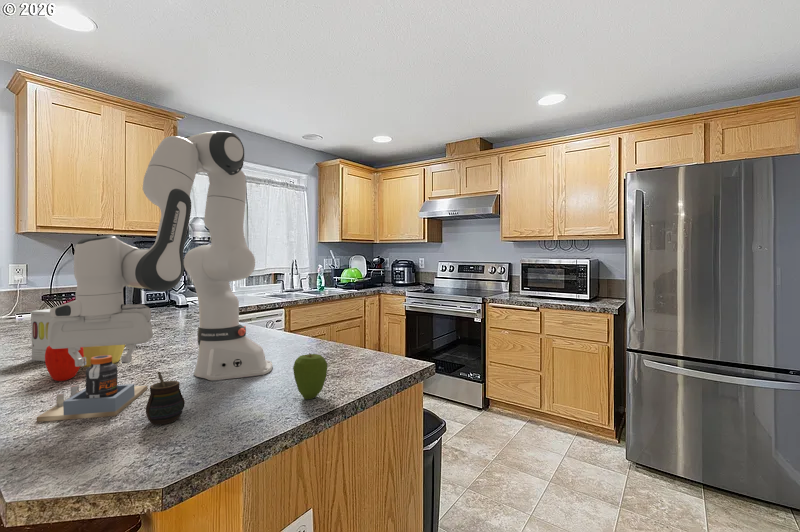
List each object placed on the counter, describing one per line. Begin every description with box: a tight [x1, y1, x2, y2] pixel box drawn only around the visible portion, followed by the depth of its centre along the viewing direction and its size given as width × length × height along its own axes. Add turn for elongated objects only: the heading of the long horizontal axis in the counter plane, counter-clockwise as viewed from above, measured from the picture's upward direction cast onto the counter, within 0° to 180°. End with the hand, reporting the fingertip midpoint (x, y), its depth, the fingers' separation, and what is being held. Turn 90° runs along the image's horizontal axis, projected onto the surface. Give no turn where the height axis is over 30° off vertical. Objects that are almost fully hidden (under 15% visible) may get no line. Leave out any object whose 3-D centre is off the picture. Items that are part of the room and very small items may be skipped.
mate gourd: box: [145, 371, 186, 426], centre depth 87 cm, size 7×8×10 cm
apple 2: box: [292, 352, 329, 400], centre depth 101 cm, size 9×8×12 cm
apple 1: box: [44, 346, 84, 382], centre depth 115 cm, size 9×9×11 cm
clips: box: [55, 384, 81, 407], centre depth 96 cm, size 5×8×2 cm, turn 13°
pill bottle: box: [85, 355, 118, 399], centre depth 93 cm, size 6×6×11 cm
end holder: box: [63, 383, 135, 415], centre depth 93 cm, size 10×10×3 cm
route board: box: [36, 385, 148, 423], centre depth 96 cm, size 15×18×1 cm
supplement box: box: [30, 308, 55, 362], centre depth 139 cm, size 10×9×17 cm
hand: (104, 364), depth 94 cm, fingers open, 8 cm apart
